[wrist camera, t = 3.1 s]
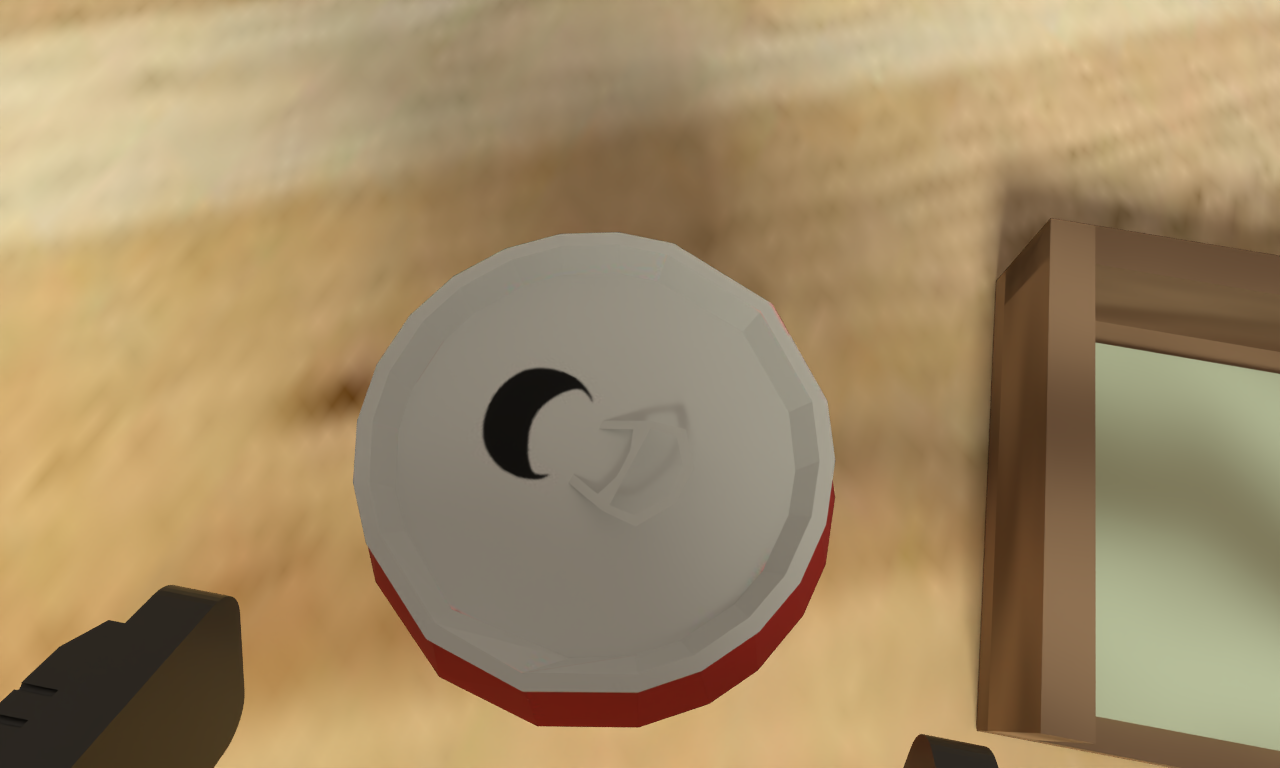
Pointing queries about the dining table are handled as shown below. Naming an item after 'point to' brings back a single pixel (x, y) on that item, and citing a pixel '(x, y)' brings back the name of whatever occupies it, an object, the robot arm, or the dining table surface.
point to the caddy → (1134, 500)
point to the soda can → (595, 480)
